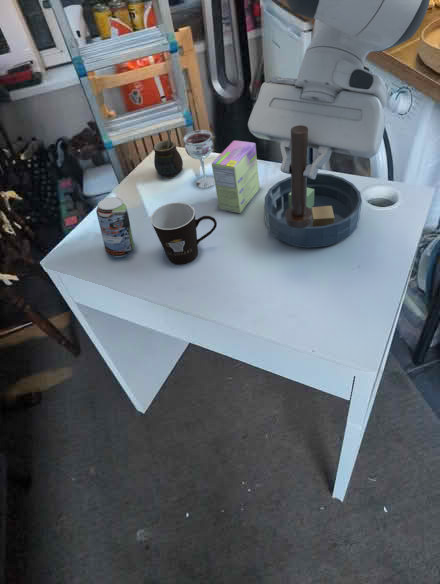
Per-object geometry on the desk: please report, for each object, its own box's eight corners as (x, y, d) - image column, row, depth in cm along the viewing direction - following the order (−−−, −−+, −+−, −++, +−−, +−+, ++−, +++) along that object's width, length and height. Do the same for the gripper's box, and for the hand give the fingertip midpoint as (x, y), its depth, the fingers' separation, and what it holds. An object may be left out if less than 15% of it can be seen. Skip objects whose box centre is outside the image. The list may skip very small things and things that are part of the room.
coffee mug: (155, 264, 89) (142, 226, 82) (174, 238, 94) (163, 199, 87) (206, 275, 85) (197, 235, 78) (223, 246, 90) (216, 207, 83)
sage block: (314, 204, 94) (314, 189, 91) (304, 214, 92) (304, 199, 89) (298, 199, 96) (298, 184, 93) (288, 209, 94) (288, 194, 91)
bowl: (366, 200, 94) (369, 178, 90) (347, 257, 83) (350, 235, 79) (281, 189, 101) (280, 169, 97) (253, 241, 90) (251, 220, 86)
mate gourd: (153, 181, 111) (143, 145, 104) (162, 165, 116) (153, 130, 109) (179, 181, 110) (171, 145, 102) (187, 165, 115) (180, 129, 107)
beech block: (330, 221, 90) (331, 205, 87) (333, 233, 87) (334, 217, 84) (311, 222, 90) (311, 207, 87) (312, 235, 88) (313, 219, 85)
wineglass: (187, 187, 107) (177, 142, 99) (201, 172, 111) (192, 128, 102) (210, 192, 104) (202, 146, 96) (224, 177, 108) (217, 131, 100)
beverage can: (102, 257, 93) (82, 211, 84) (122, 236, 97) (105, 191, 88) (125, 264, 90) (106, 217, 82) (145, 242, 94) (129, 196, 86)
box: (238, 185, 105) (233, 139, 96) (260, 189, 103) (256, 142, 94) (218, 209, 99) (210, 163, 91) (240, 214, 97) (234, 167, 88)
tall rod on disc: (315, 214, 73) (318, 122, 61) (308, 230, 70) (310, 138, 59) (289, 210, 74) (288, 120, 63) (282, 226, 72) (279, 135, 60)
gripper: (257, 66, 65) (230, 156, 67) (394, 79, 56) (358, 184, 58) (272, 84, 71) (246, 167, 73) (399, 99, 62) (366, 194, 64)
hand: (297, 175), depth 65 cm, fingers closed on tall rod on disc, 2 cm apart
